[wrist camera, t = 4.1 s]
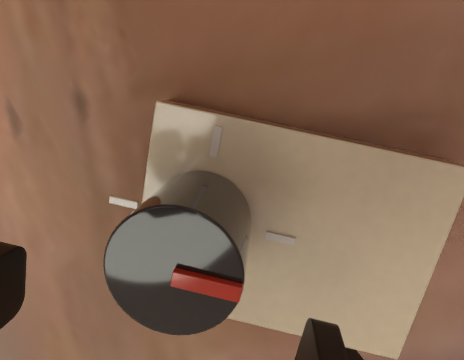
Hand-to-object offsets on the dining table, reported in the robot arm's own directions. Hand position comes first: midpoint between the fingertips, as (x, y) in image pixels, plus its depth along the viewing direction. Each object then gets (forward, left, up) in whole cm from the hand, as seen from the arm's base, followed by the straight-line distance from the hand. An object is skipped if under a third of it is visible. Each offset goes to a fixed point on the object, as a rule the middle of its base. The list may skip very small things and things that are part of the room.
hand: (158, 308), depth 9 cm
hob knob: (0, 0, -7) cm, 7 cm away
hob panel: (+4, 0, -9) cm, 10 cm away
